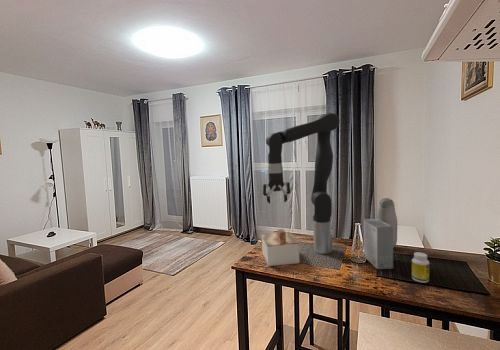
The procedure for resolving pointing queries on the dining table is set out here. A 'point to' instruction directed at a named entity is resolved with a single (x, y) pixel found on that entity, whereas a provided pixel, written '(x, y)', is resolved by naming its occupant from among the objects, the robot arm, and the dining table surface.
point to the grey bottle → (388, 216)
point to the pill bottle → (420, 267)
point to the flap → (279, 238)
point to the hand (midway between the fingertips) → (277, 202)
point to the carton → (280, 254)
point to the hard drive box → (378, 243)
